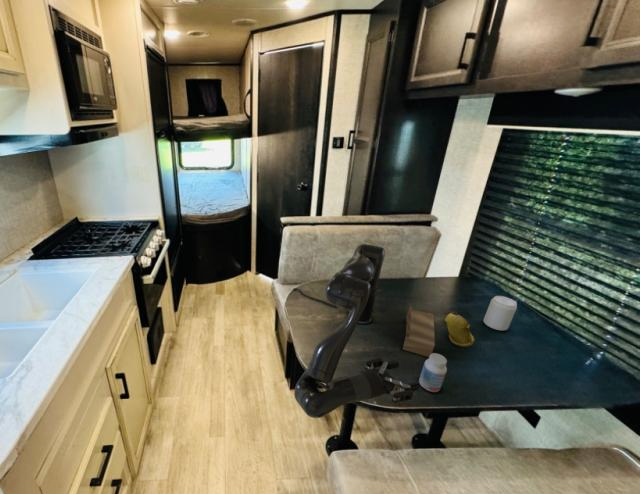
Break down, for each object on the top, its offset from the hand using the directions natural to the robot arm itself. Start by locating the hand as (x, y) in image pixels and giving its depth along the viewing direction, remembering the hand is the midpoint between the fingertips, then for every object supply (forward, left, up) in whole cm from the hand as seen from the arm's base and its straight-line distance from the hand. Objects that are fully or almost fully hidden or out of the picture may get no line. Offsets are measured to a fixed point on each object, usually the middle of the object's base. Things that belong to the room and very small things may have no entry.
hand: (407, 373), depth 95 cm
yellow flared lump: (+17, +34, -8) cm, 39 cm away
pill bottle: (+8, +7, -8) cm, 13 cm away
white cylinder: (+32, +54, -8) cm, 63 cm away
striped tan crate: (+4, +31, -8) cm, 33 cm away
